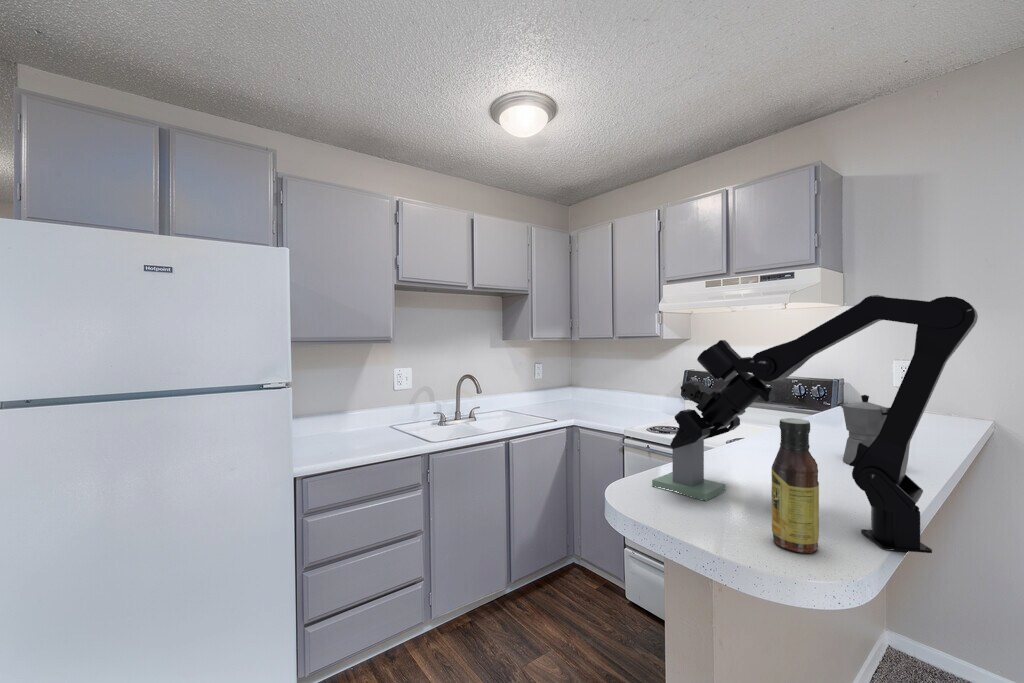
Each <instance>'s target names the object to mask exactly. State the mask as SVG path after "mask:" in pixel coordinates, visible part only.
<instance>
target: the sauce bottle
mask: <svg viewBox="0 0 1024 683" xmlns="http://www.w3.org/2000/svg"><path fill="white" fill-rule="evenodd" d="M779 429H780V443H779V448H778V452H777V453H776V455H775V456H776V457H775V458H774V460H773V463H772V466H771V531H772V532H771V533H772V538H773V541H774V542H775V543H776V545H778V547H780V548H784V549H785V548H786V550H789V551H791V552H797V553H802V554H811V553H814V552H815V551H816V550H817V549H818V548H819V540H820V539H819V538H820V532H819V531H820V515H819V514H820V502H819V500H820V495H819V494H820V488H819V487H820V482H819V467H818V466H819V464H818V463H817V461H816V459H815V457H814V456H812V454H811V452H810V440H809V439H810V432H811V422H810V420H806V419H802V418H793V417H784V418H780V419H779Z"/></svg>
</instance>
